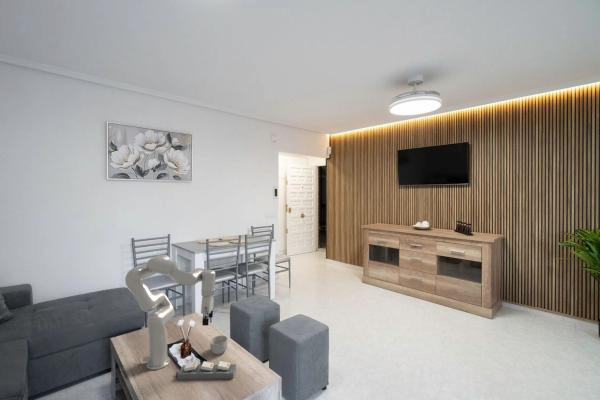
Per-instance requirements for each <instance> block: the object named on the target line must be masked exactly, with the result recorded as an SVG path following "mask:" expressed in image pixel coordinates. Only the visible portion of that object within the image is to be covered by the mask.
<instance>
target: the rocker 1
mask: <svg viewBox="0 0 600 400" xmlns="http://www.w3.org/2000/svg"><path fill="white" fill-rule="evenodd" d="M185 365H186V366H185V368H184V371H189V370H193V369H196V367H197V365H199V361H194V362H193V361H192V362H189V363H186V364H185Z"/></svg>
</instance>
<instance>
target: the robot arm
mask: <svg viewBox="0 0 600 400" xmlns="http://www.w3.org/2000/svg"><path fill="white" fill-rule="evenodd" d="M156 274H160V275H164V276H167V277H170V279H171V280H172V281H174V283H177V284H179V285H183V286H186V287H187V286H188V287H193V286H195V285H196V284H198V283H200V282H201V290H200V291H201V292H200V293H201V297H202V298H201V308H200V314H201V315H202V326H209V319H211V318H213V317H214V311H213V310H214V305H215V303H214V296H215V294H216V271H215V270H213V269H205V268H201V267H197V268H195V269H193V270H190V271H184V270H181V269H179V263H178V262H176V261H173V260H171V258H170V257H169V255H168V254H162V253H161V254H159V255H156V256H154V257H151V258H150V259H148V261H147V262H146V263H143V264H141V265H137V266H135V267H134V268H131V269H130V270H129V271H128V272H127V273H126V275H125V281H124V282H125V285H126V287H127V289H128V290H129V291H130V292H131V293H132V295H133V296H134V299H135V300H136V302H137V303H138V305H139V307H140V308H141V310H142V311H143V312H145V313H149V312H151V311H153V310H155V309H156V310H155V311H153V312H151V314H150V315H149V316H148V317H147V319H146V326H147V329H148V349H149V350H148V351H149V352H148V353H149V354H148V355H144V356H143V357H142V362H146V363H145V364H146V368H147V370H151V371H152V370H153V371H155V370H160V369H162V368H165V367H167V366H168V365H169V364H170V362H171V357H169V356H168V331H167V328H166V326H165V325H166V324H167V323H168V322H169V321H170V320H172V319H173V317H174V315H175V308H174V306H173V305H172V303H171V302H170V299H169V297H168V296H167V295H166V293H165V292H164V291H162V290H159V289H157V290H153V291H152V290H151V289H150V287H149V285H148V284H146V283H145V282H144V280H146V279H147V278H149V277H152V276H153V275H156Z"/></svg>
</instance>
